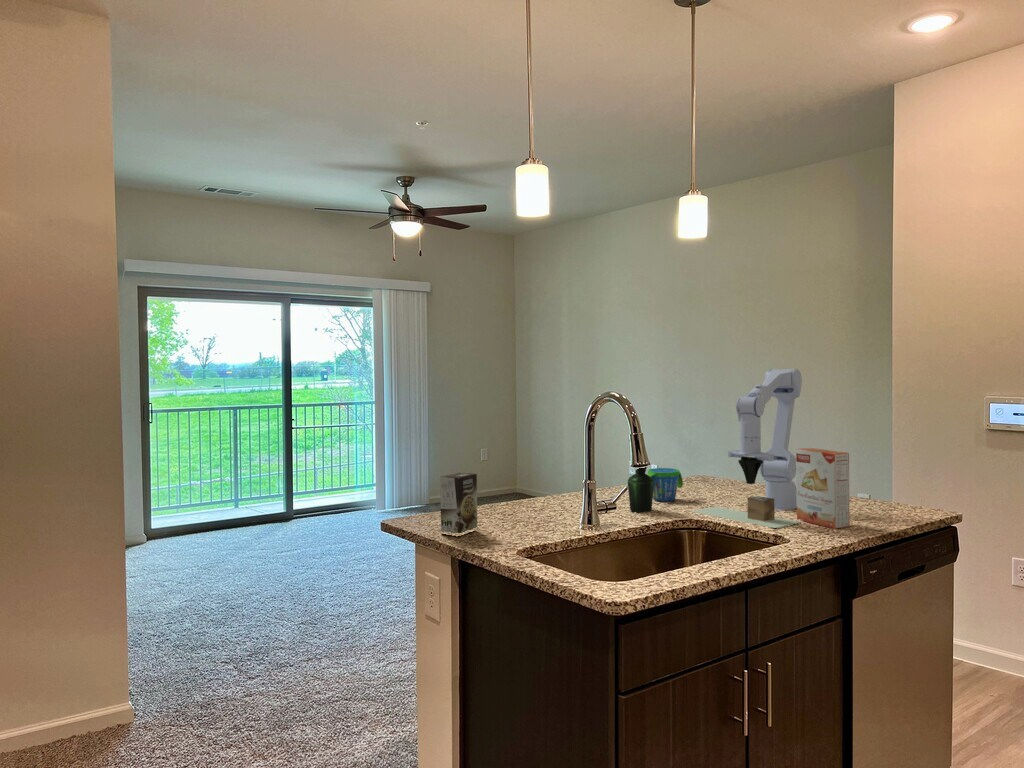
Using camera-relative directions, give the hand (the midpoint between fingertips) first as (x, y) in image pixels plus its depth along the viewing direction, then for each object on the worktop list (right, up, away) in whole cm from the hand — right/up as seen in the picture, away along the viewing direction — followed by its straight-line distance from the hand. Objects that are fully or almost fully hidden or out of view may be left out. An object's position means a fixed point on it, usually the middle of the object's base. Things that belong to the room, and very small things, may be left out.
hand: (750, 483), depth 213 cm
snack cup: (-19, -10, +32) cm, 39 cm away
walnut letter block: (+2, -4, -3) cm, 5 cm away
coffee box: (-85, -12, -13) cm, 87 cm away
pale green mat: (-2, -10, +1) cm, 11 cm away
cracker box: (+17, -11, -8) cm, 22 cm away
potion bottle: (-30, -11, +13) cm, 34 cm away
